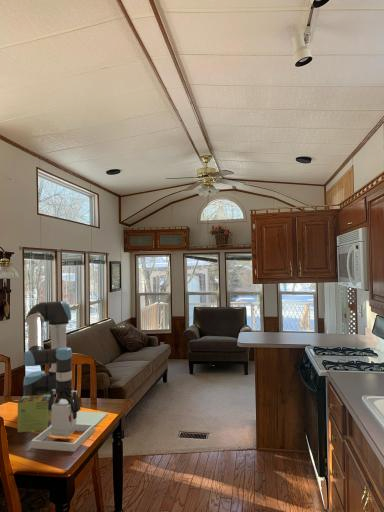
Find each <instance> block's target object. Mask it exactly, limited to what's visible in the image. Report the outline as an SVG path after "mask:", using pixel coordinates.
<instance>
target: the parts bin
mask: <svg viewBox="0 0 384 512" xmlns="http://www.w3.org/2000/svg"><path fill="white" fill-rule="evenodd" d="M95 428H96V427H95V425H94V424H79V423H76V430H75V431H74V432H82V434H81V435H80V436H79V437H77V439H76V440H75V441H74V442H66V441H52V440H45V439H47V438H48V437H49V436H51V433H52V424H51V425H50V427H48V428H47V429H46V430H42V432H41V433H40V434H38V435H37V436H35V437H34V438H32V440H30V444H31V445H30V448H31V449H35V450H36V449H37V450H38V449H39V450H50V451H60V452H61V451H62V452H73V453H74V452H76V450H78V449H79V447H80V446H82V444H83V443H84V442H86V440H88V438H90V437H91V436H92V435H93V434H94V432H95ZM46 437H47V438H46ZM42 440H43V441H42Z"/></svg>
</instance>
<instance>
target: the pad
mask: <svg viewBox="0 0 384 512" xmlns="http://www.w3.org/2000/svg"><path fill="white" fill-rule="evenodd" d="M108 415H109V414H108V412H97V411H96V412H94V411H82V410H79V411H78V412H77V418H76V423H79V424H94V425H95V428H96V427H97V426H98V425H99V424H100V423H101V422H102V421H103V420H105V418H106V417H107V416H108Z"/></svg>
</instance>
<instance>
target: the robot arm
mask: <svg viewBox="0 0 384 512" xmlns="http://www.w3.org/2000/svg"><path fill="white" fill-rule="evenodd" d="M71 320H72V311H71V307H70V303H69V302H68V301H65V300H64V301H62V300H60V301H59V300H57V301H46V302H44V301H43V302H39V303H36V304H35V305H33V306H32V307H31V308H30V310H29V311H28V312H27V315H26V319H25V321H26V325H27V327H28V329H27V331H28V332H27V334H28V335H27V338H28V341H27V342H28V345H27V346H28V349H27V350H26V351H24V352H23V354H24V355H23V358H24V359H23V362H24V363H23V364H24V366H25V367H36V366H37V367H38V366H43V365H51V367H50V368H49V369H48V372H47V373H46V372H45V371H44V370H37V371H32V372H30V373H28V374H26V375H25V376H24V377H23V384H22V386H23V396H35V395H49V394H51V396H50V401H49V405H48V410H51V411H52V405H53V404H55V403H58V402H59V401H60V400H61V399H66V400H67V401H68V403H69V404H71V410H72V413H71V426H74V425H75V419H76V418H77V412H79V411H81V405H80V401H79V400H80V399H79V395H78V393H79V392H78V390H74V389H73V380H72V378H73V371H72V367H73V366H72V365H73V364H72V363H73V358H72V357H73V352H72V348H71V347H69V346H67V326H68V325H69V322H70V321H71ZM45 322H48V323H47V324H48V326H49V327H50V328H51V330H50V333H51V334H50V335H51V336H50V342H51V343H50V348H49V349H48V348H47V349H45V348H44V329H43V328H44V327H43V326H44V325H43V324H44V323H45ZM55 396H56V397H55ZM73 400H74V402H73Z"/></svg>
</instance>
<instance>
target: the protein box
mask: <svg viewBox="0 0 384 512" xmlns="http://www.w3.org/2000/svg"><path fill="white" fill-rule="evenodd" d="M50 396H51V394H50V393H49V394H45V395H35V396H24V395H23V396H22V397H21V399H20V400H19V401H18V402H17V433H26V432H29V433H30V432H38V431H42V432H43V431H45V430H46V429H47V428H48V427H50V426H51V425H52V411H51V410H48V405H49V401H50Z"/></svg>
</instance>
